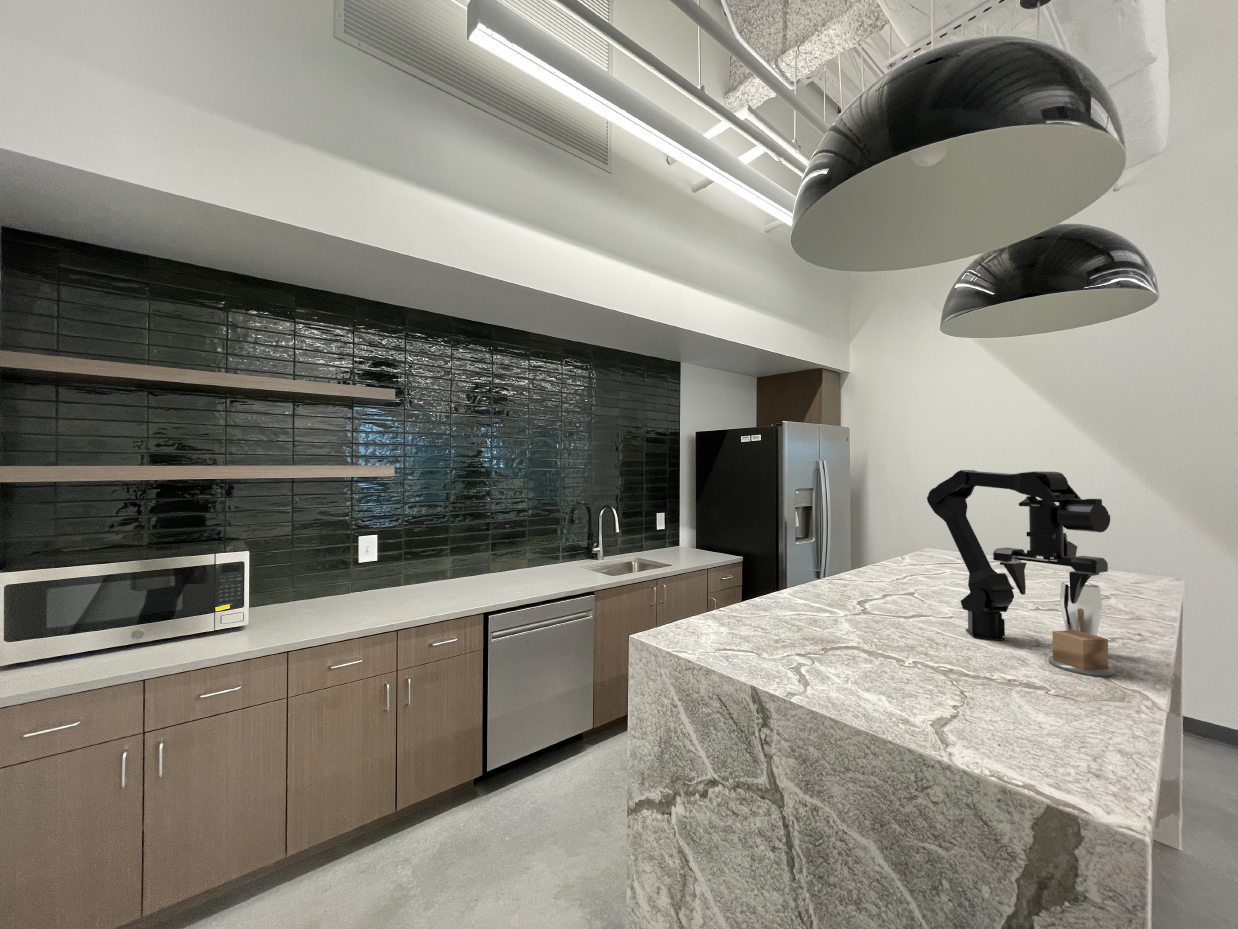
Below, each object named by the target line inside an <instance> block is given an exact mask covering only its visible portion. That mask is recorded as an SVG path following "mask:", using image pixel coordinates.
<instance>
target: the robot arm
mask: <svg viewBox="0 0 1238 929" xmlns="http://www.w3.org/2000/svg"><path fill="white" fill-rule="evenodd" d="M1068 481H1069V480H1068V479H1067V477H1066V476H1065V475H1064V474H1063V473H1062V472H1058V471H1041V470H1040V471H1035V470H1034V471H1026V472H1017V473H1005V472H1004V473H1003V472H991V471H977V470H975V469H959V470H958V471H956V472H955V473H954V474H953V475H952V476H951V477H949V478H947V479H946V480H943V481H942V482H940V483H938V485H936V486H935V487H933V488H931V489H930V490H929V492H928V494H927V496H926V501H927V503H928V505H929V507H930V508H931V510H932V512H933V513H934V514H935V515H936V516H938V517H939V518H940V519H941V520H942V521H944V523H945V524H946V526H947V528H948V530H949V532H950V536H951V537H952V540H953V541H954V543H955V545H956V548H957V549H958V552H959V554H960V556H961V558H962V561H963V562H964V565H965V567H966V569H967V571H968V574H969V575H968V582H967V586H968V590H969V593H968V594H967V595H966V596H965V597H963V598H962V599H961V600H960V604H961V607H962V609H963V610H965V611H967V628H965V631H966V633H968V635H970V636H971V637H973V638H976V639H984V640H996V641H1006V638H1005V637H1006V636H1005V635H1006V634H1005V633H1006V631H1005V629H1006V628H1005V626H1006V625H1005V624H1006V623H1005V622H1006V621H1005V619H1004V618H1003V613H1007V612H1008V609H1009V607H1010V605H1011V604H1012V603H1013V600H1014V598H1015V594H1014V591H1013V590H1015V587H1013V586H1012V584H1011V583H1010V580H1009V577H1008V575H1010V577H1011V578H1012V580H1013V582H1014V584H1015V585H1016V588H1017V589H1018V590H1017V591H1018V592H1019V594H1020V595H1023V596H1024V595H1026V588H1027V587H1026V575H1025V574H1026V572H1025V569H1026V567H1027V564H1028V562H1032V563H1040V564H1048V565H1055V566H1063V567H1071V568H1072V570H1073V571H1069V572H1068V573H1069V582H1070V599H1071V603H1072V604H1075V603H1076V602H1077V600H1078V598H1079V596H1080V593H1081V591H1082V589H1083V587H1084V585H1085V584H1086V583H1087V582H1088V581H1089V580H1090V578H1092V577H1093V576H1099V575H1100V573H1107V572H1109V568H1108V567H1109V564H1108V561H1107V560H1106V559H1105V558H1104V557H1099V556H1098V557H1097V556H1088V555H1078V556H1077V553H1078V552H1077V551H1078V545H1076V544H1074V543H1073V542H1071V541H1068V535H1067V532H1064V529H1066V530H1069V531H1070V530H1071V531H1077V532H1078V531H1079V532H1081V531H1082V532H1092V533H1105V532H1106V531H1107V529H1108V528H1109V526H1110V523H1111V514H1109V511H1108V509H1107V507H1106V506H1104V505H1103V499H1101V498H1085V499H1082V498H1081V497H1080V496H1079V494H1078V493H1077V492H1076V491H1075V490H1074V489H1073V487H1071V485H1070V484H1069V482H1068ZM976 487H984V488H994V489H1003V490H1010V491H1014V492H1016V493H1019V494H1021V495H1025V496H1026V497H1025V498H1024V499H1023V500H1021V501H1020V502H1019V503H1018V507H1028V512H1029V513H1028V515H1029V517H1028V518H1029V519H1028V520H1029V522H1028V523H1029V524H1028V525H1029V526H1028V527H1029V528H1028V530H1029V531H1026V537H1029V549H1027V550H1026V552H1025V550H1024V549H1022V548H1014V547H999V548H998V547H997V548H995V549H994V551H993V553H992V557H993V558H992V559H993V561H996V562H997V561H998V562H999V565H1000V566H1003V567H1004V568H1005V569H1006V571H1007V572H1008V575H1007V574H1006V572H1000V573H998V572H997V571H996V570H994V568H993V567H992V566H991V563H990V561H989V560H988V558H987V555H986V554H985V551H984V549H983V548H982V546H981V543H980V542H979V539H978V537H977V536H976V533H975V531H974V529H973V527H972V525H971V523H970V521H969V519H968V517H967V513H968V503H967V499H968V498H970V496H971V495H972V494H973V492H974V490H975V488H976ZM1057 503H1058V504H1057ZM1039 557H1040V558H1039ZM1041 557H1042V558H1041ZM1023 561H1024V562H1023Z"/></svg>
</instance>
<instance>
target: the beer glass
mask: <svg viewBox="0 0 1238 929" xmlns="http://www.w3.org/2000/svg"><path fill="white" fill-rule="evenodd" d="M1059 595H1060V596H1059V598H1060V599H1059V601H1060V602H1059V605H1060V606H1059V607H1060V610H1061V615H1062V619H1063V624H1064V628H1065V630H1064V631H1069V630H1077V631H1081V632H1085V633H1088V634H1092V635H1095V636H1098V632H1099V627H1100V623H1101V618H1102V611H1103V610H1102V609H1103V603H1102V601H1103V600H1102V593H1101V586H1100V585H1097V584H1094V583H1093V584H1092V583H1089V582H1088V583H1087V582H1086V584H1085V585H1084V587H1083V589H1082V591H1081V593H1080V596H1079V598H1078V600H1077V602H1076V603H1075V604H1072V603H1071V599H1070V581H1062V582H1060V592H1059Z"/></svg>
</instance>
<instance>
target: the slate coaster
mask: <svg viewBox="0 0 1238 929" xmlns="http://www.w3.org/2000/svg"><path fill="white" fill-rule="evenodd" d="M1048 663H1049V664H1050V665H1052V666H1053V667H1055V668H1057V669H1061V670H1063V671H1066V672H1070V673H1074V674H1079V675H1084V676H1089V677H1096V678H1097V677H1098V678H1100V677H1101V678H1106V677H1107V678H1108V677H1114V676H1115V673H1116V672H1115V669H1114V668H1112V667H1110V666H1109V665H1108V669H1100V670H1081V669H1078V668H1075V667H1072V666H1069V665H1066V664H1064V663H1061V662H1058V661H1055V660H1053V655H1052V656H1049V657H1048Z"/></svg>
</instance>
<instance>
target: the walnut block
mask: <svg viewBox="0 0 1238 929" xmlns="http://www.w3.org/2000/svg"><path fill="white" fill-rule="evenodd" d="M1052 656H1053V660H1055V661H1058V662H1061V663H1064V664H1066V665H1069V666H1072V667H1075V668H1078V669H1081V670H1100V669H1108V666H1109V639H1108V638H1105V637H1102V636H1099V635H1097V636H1095V635H1092V634H1088V633H1085V632H1081V631H1077V630H1069V631H1066V630H1052Z"/></svg>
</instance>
